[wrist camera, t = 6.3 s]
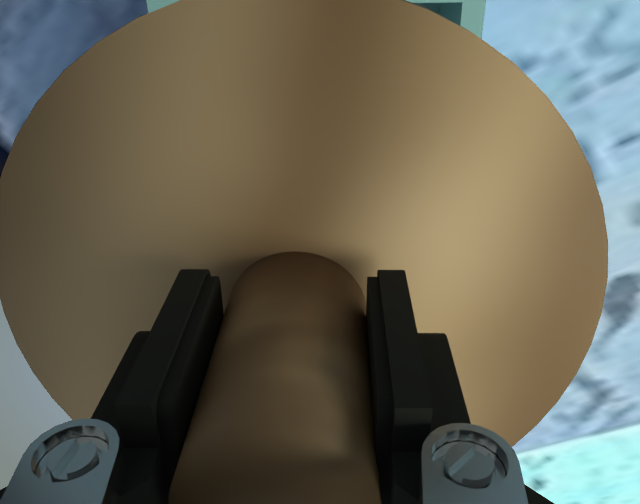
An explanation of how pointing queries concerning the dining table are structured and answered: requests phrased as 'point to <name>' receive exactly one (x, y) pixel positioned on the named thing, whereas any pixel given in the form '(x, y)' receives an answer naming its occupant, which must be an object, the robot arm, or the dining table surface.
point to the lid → (301, 228)
